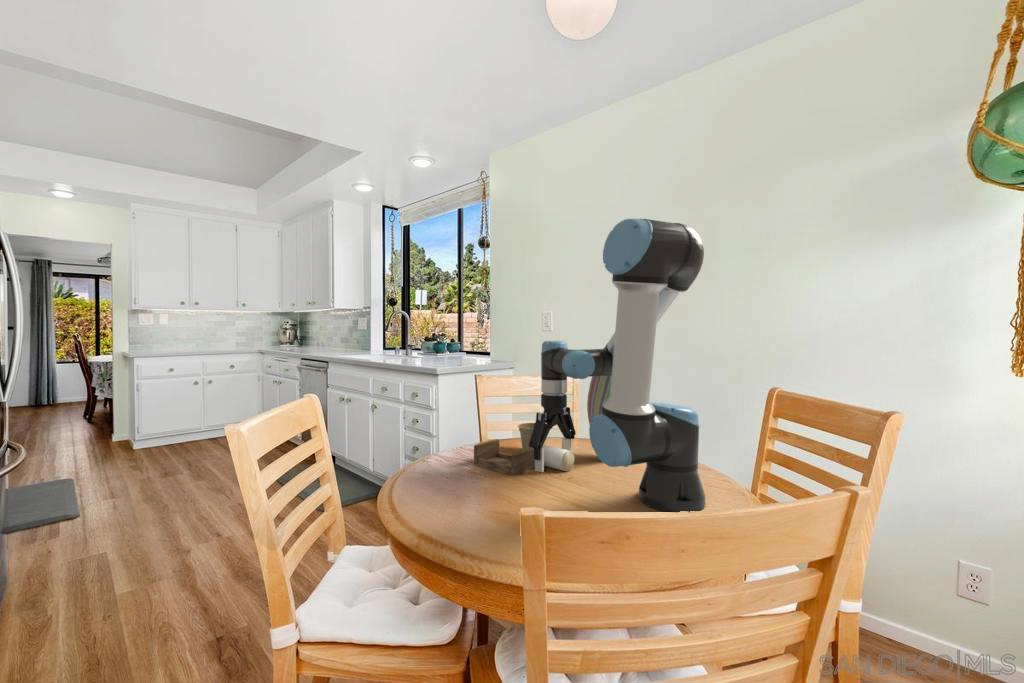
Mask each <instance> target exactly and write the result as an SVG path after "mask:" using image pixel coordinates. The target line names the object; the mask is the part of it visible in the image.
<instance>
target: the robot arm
mask: <svg viewBox="0 0 1024 683" xmlns="http://www.w3.org/2000/svg"><path fill="white" fill-rule="evenodd" d="M704 250H705V248H704V244H703V241H702V238H701V237H700V235H699V234H698V233H697V231H696V230H695V229H693V228H692V227H690V226H689V225H687V224H683V223H679V222H668V221H662V220H661V221H660V220H655V219H654V220H653V219H648V218H626V219H623V220H621V221H619V222H617V224H615V225H614V227H612V230H610V231H609V233H608V235H607V237H606V239H605V242H604V246H603V250H602V260H603V264H604V267H605V270H606V271H607V272H608V273H610V274H611V275H612V279H611V280H612V281H611V283H612V284H613V286H614V287H615V288H616V289H617V291H618V293H617V294H618V295H617V304H616V305H617V306H616V319H615V330H614V333H613V335H612V336H611V338H610V339H609V341H608V342H607V343H606V345H605V347H604V348H593V349H592V348H591V349H584V348H583V349H570V348H569V347H568V343H567V341H565V340H544V341H543V342H542V343H541V352H540V357H541V360H540V361H541V363H540V364H541V368H540V369H541V370H540V371H541V372H540V373H541V376H540V377H541V381H540V383H541V386H540V388H541V389H540V390H541V392H542V394H541V395H540V405H541V406H540V407H542V408H543V412H536V416H535V422H534V423H535V425H534V429H533V432H532V435H531V439H530V442H529V447H533V448H534V460H535V468H534V471H536V472H541V473H543V472H545V471H544V470H545V466H544V449H543V448H542V447H543V445H545V442H546V440H547V438H548V435H549V433H550V431H551V430H552V429H553V428H554V427H555V426H557V427H558V428H559V429H558V430H560V432H561V434H562V436H563V437H562V438H561V449H566V450H570V451H572V450H571V448H572V440H574V439H575V438H576V435H577V434H576V429H575V426H574V422H573V418H572V415H571V407H570V406H568V404H567V403H568V395H567V392H568V378H572V379H573V380H574V379H575V380H579V379H580V380H584V379H587V378H589V377H591V378H592V376H610V375H612V376H611V388H610V396H609V398H607V399H606V400H605V401H604V402H603V403H602V413H601V414H599V415H597V416H595V417H594V418H593V420H592V421H591V423H590V425H589V431H588V432H589V440H590V443H591V447H592V449H593V451H594V453H595V455H596V456H597V458H598V459H599V461H600V462H601V461H602V462H601V463H603V464H604V465H606V466H609V467H610V468H611V467H612V468H617V467H624V468H626V467H627V468H628V467H629V466H633V465H635V466H636V465H640V464H646V466H645V469H644V471H643V472H644V473H643V475H642V478H641V480H640V484H639V486H638V499H639V501H640V502H641V503H643V504H644V505H646V506H648V505H649V506H648V507H650V508H653V509H655V508H656V510H659V511H663V512H669V513H670V512H671V513H678V512H680V511H695V512H698V511H697V510H699V511H701V510H703V509H704V508H705V507H704V505H705V506H706V493H705V490H704V487H703V484H702V481H701V477H700V474H699V442H700V440H699V439H700V438H699V437H700V436H699V435H700V424H699V414H698V412H697V410H695V408H694V409H693V408H691V407H688V406H684V405H677V404H673V403H672V404H671V403H663V402H651V401H650V395H651V384H652V374H653V362H654V353H655V342H656V332H657V323H658V322H659V321H660V319H661V318H662V317H663V316H664V315H665V313H666V312H667V310H669V308H670V306H671V305H672V304H673V302H674V301H675V300H676V298H678V296H679V294H680V293H685V292H687V291H688V289H689V288H691V286H692V285H693V283H694V282H695V280H696V279H697V278H698V275H699V273H700V272H701V269H702V266H703V263H704V258H705V251H704ZM533 442H534V443H533ZM539 443H540V444H539Z"/></svg>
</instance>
